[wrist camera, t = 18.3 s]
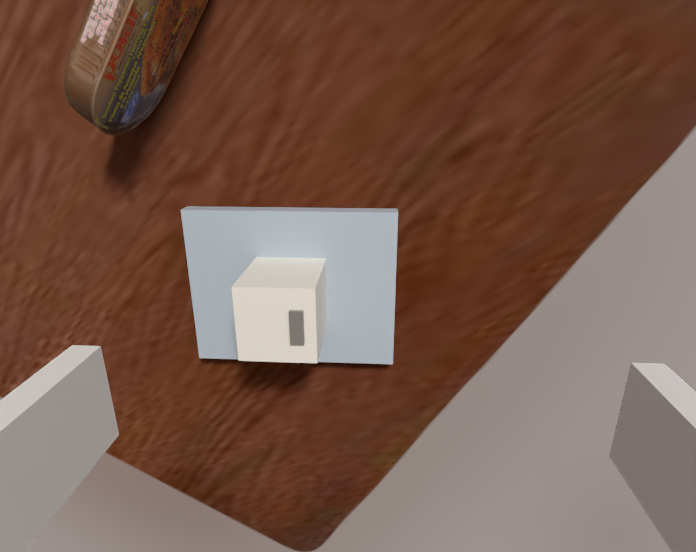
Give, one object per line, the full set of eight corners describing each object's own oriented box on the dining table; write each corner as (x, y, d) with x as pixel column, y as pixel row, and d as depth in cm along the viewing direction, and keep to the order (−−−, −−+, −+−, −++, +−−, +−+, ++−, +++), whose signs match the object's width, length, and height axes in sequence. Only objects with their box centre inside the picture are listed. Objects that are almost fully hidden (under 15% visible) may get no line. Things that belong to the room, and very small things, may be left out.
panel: (205, 350, 45) (177, 388, 39) (187, 206, 40) (152, 224, 34) (392, 356, 44) (394, 396, 38) (397, 208, 39) (400, 227, 33)
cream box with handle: (260, 320, 42) (237, 362, 35) (256, 257, 40) (230, 288, 33) (327, 322, 41) (316, 365, 34) (326, 258, 39) (314, 290, 32)
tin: (145, 135, 38) (83, 142, 30) (110, 112, 38) (39, 113, 30) (232, -45, 34) (186, -92, 26) (194, -74, 33) (135, -130, 25)
